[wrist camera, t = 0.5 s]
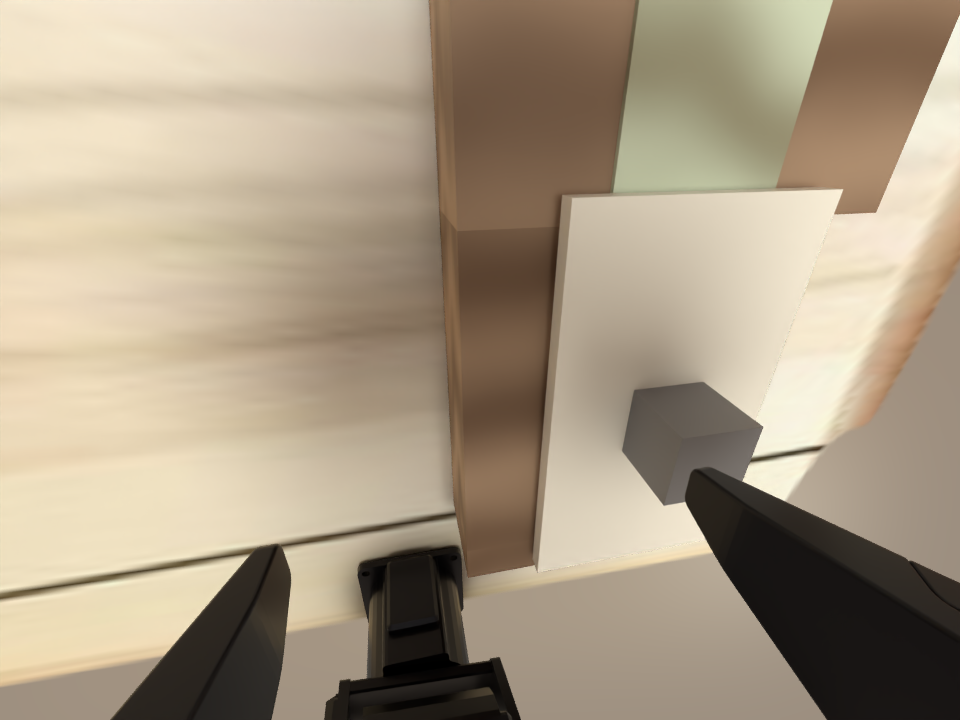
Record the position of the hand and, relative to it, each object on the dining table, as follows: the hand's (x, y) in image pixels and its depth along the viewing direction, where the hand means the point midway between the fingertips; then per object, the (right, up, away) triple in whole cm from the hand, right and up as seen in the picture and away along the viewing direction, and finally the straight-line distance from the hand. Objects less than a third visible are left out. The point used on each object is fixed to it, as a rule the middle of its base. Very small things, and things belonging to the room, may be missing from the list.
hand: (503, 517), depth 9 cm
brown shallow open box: (+6, +6, +12) cm, 15 cm away
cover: (+7, +1, +9) cm, 11 cm away
